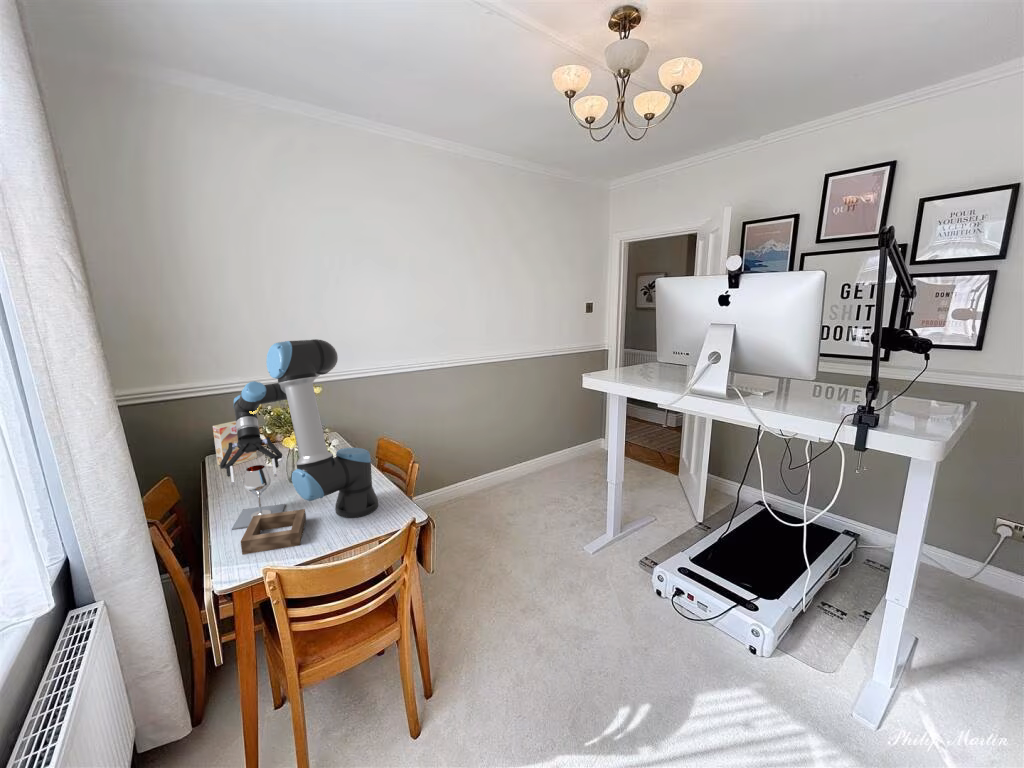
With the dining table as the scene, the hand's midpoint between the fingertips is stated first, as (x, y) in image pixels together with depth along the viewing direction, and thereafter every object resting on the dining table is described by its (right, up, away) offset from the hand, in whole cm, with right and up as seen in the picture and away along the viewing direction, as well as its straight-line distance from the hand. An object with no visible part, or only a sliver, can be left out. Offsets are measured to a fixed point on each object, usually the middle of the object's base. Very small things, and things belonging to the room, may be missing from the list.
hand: (254, 479), depth 155 cm
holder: (+18, -15, -18) cm, 29 cm away
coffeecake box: (-36, -2, +45) cm, 57 cm away
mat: (+5, -12, -5) cm, 15 cm away
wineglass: (+6, -12, -5) cm, 14 cm away
